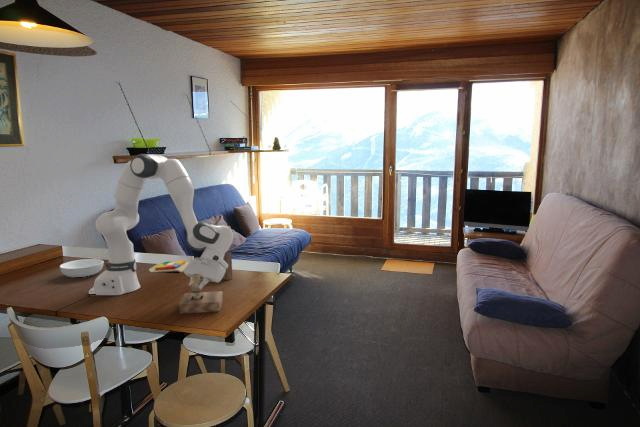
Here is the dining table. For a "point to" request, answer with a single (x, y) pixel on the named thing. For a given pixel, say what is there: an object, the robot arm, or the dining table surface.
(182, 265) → the wooden puzzle
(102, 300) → the dining table surface
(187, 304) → the board
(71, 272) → the serving bowl
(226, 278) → the wooden block
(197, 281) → the peg
